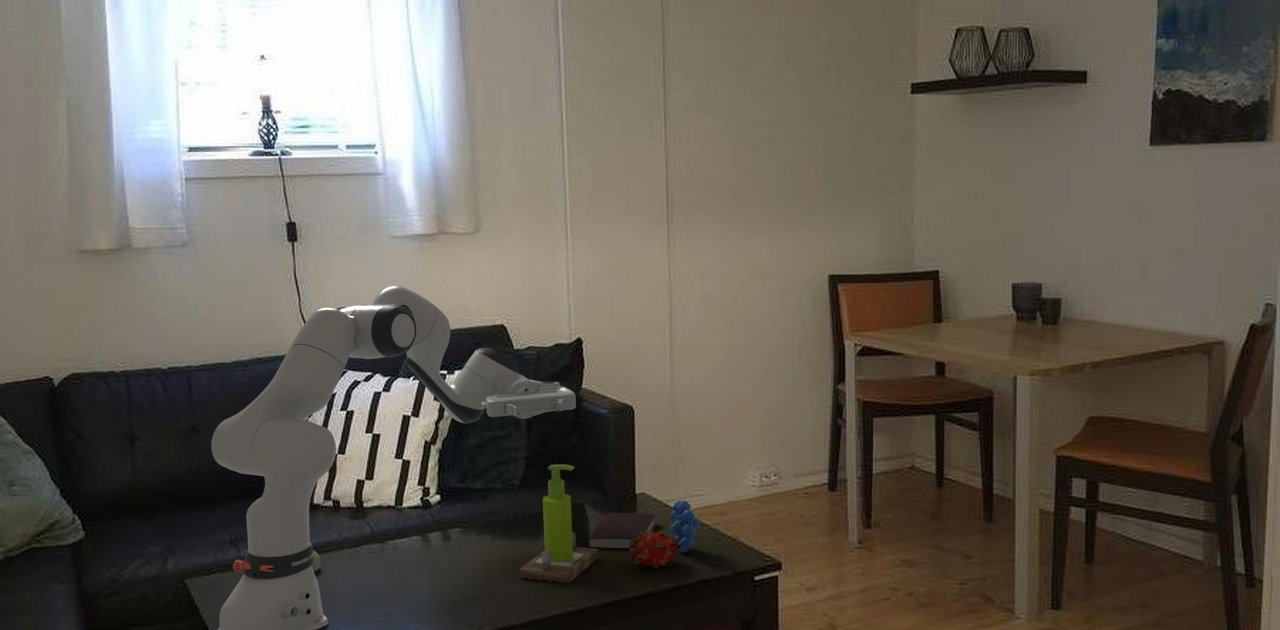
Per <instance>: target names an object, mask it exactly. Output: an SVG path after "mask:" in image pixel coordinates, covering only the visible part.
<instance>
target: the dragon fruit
mask: <svg viewBox="0 0 1280 630" xmlns="http://www.w3.org/2000/svg"><path fill="white" fill-rule="evenodd" d="M638 534H640V536H635V537H634V540H632V541H631V543H630V548H631V549H628V552H629V554H630V556H631V557H632V559H631V561H632V563H634V564H635V565H636V564H640V563H641V567H642V568H644V567H645V569H646V568H647V567H650V568H652V569H654V570H656V569H658V567H662V566H663V567H667V568H668V567H670V566H671V565H672V564H673V561H671V560H674V558H675V557H676V556H677V554H678V553H679V552H680V551H679V550H680V546H681V545H678V543H679V542H678V541H677V540H676V539H674V537H672V536H668V535H665V533H664V530H659V531H658V532H654V529H653V530H651V531H649V532H647V533H643V532H639V533H638Z"/></svg>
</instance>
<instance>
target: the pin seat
mask: <svg viewBox="0 0 1280 630" xmlns="http://www.w3.org/2000/svg"><path fill="white" fill-rule="evenodd" d="M576 543H577V542H576V532H573V531H572V547H573V558H572V559H570V560H568V561H564V562H551V552H550V551H545V549H544V550H542V551H541V552H540V553H538V555H536V556H535V557H534V558H533V557H532V559H531V560H530V561H528V562H526V563H525V564H524V565H523V566H521V567H520V568H519V578H520V577H521V578H520V579H523V578H528V579H527V580H532V579H538V580H537V581H542V580H549V581H548V582H552V581H556V582H555V583H561V582H562V583H563V584H570V583H571V582H573V581H574V578H575V579H576V578H577V577H578V576H579V575H581V574H582V573H583V572H584V571H585V570H586V569H588V568H589V566H591V565H592V564H593V563H594V562H595V561H597V560H598V559H599V556H598V555H599V552H598V551H599V548H589V547H579V546H578V547H577V546H576ZM590 564H591V565H590Z"/></svg>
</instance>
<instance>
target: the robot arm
mask: <svg viewBox="0 0 1280 630" xmlns="http://www.w3.org/2000/svg"><path fill="white" fill-rule="evenodd" d="M450 325H451V324H450V322H449V319H448V317H447V316H446V315H445V313H444V312H443V311H442V310H440V309H439V307H438V306H436V305H435V304H434V303H432V302H431V301H430V300H429V299H426V298H425V297H423V296H422V295H420V294H419V293H416V292H415V291H412V290H410V289H408V288H406V287H402V286H399V285H391V286H388V287H386V288H383V290H381V291H380V292H379V293H378V294H377V296H375V299H374V301H373V303H372V304H359V305H351V306H347V307H346V306H342V307H341V306H340V307H337V308H333V307H323V308H320V309H317V310H316V311H314V312H313V313H312V314H311V315H310V317H309V318H308V319H307V320H306V322H305V323H304V324H303V326H301V329H300V330H299V332H298V333H297V334H296V336H295V338H294V339H293V341H292V343H291V345H290V347H289V348H288V351H287V352H286V354H285V356H284V358H283V360H282V362H281V363H280V366H279V368H278V369H277V371H276V373H275V375H273V378H272V379H271V381H270V382H269V383H268V385H267V386H266V387H265V388H264V390H263V391H262V392H260V394H258V396H257V397H256V398H255V399H254V400H252V401H251V403H249V404H248V405H246V407H245V408H244V409H242V410H241V411H239V412H237V413H236V414H235V415H232V416H230V417H228V418H225V419H224V420H223V421H221V422H220V423H219V424H218V426H217V427H216V428H215V430H214V432H213V433H212V434H213V435H212V438H211V442H210V443H211V445H210V446H211V453H212V456H213V459H214V460H215V461H216V463H217V464H218V465H220V466H221V467H223V468H226V469H228V470H231V471H234V472H237V473H239V474H245V475H252V476H253V475H254V476H262V477H264V481H265V482H264V488H263V493H262V496H261V497H259V498H258V499H256V500H255V501H254V502H253V503H251V505H249V507H248V509H247V512H246V518H245V519H246V527H247V528H246V530H247V546H248V549H247V551H246V554H245V557H244V560H241V559H235V561H233V564H232V569H233V571H235V572H243V575H242V577H241V578H240V580H239V581H238V583H237V584H236V586H235V587H234V589H233V590H232V592H231V593H230V595H229V596H228V598H227V599H226V601H225V602H224V604H223V605H222V606H221V609H220V613H219V628H218V629H217V630H316V629H317V630H319V629H321V628H323V627H326V626H327V625H328V624H329V620H328V617H327V616H326V615H325V614H324V610H323V604H322V597H321V592H320V586H319V581H318V578H317V577H316V574H315V572H314V571H313V568H312V564H313V562H314V558H313V555H314V551H315V550H314V549H313V543H312V542H311V538H310V536H311V535H310V502H311V497H312V494H313V491H314V489H315V487H316V484H317V483H318V482H319V480H320V479H321V478H322V477H323V476H324V475H326V473H328V471H329V470H330V469H331V467H332V466H333V463H334V461H335V459H336V454H337V447H336V446H337V445H336V441H335V437H334V436H333V435H334V434H333V433H332V432H331V430H330V429H329V428H327V427H324V426H322V425H320V424H317V423H314V422H312V421H309V420H306V419H307V418H308V417H310V416H311V415H314V414H315V413H318V412H319V411H321V410H322V409H324V408H325V407H327V405H328V403H329V401H330V400H331V398H332V395H333V393H334V391H335V389H336V387H337V386H338V385H337V384H338V382H339V380H340V379H341V376H342V374H343V372H344V370H345V367H346V366H347V363H348V360H349V358H353V359H364V360H371V359H381V358H395V357H398V356H401V355H404V354H405V353H406V361H405V363H406V366H407V367H408V369H409V370H410V372H411V373H412V374H413V375H414V376H415V377H416V378H417V380H418V381H419V382H420V383H421V384H422V385H423V386H424V388H426V390H428V391H429V392H430V393H431V395H433V397H434V398H435V399H436V400H437V401H438V403H440V405H441V406H442V407H443V408H444V411H445V412H446V413H447V414H448V415H449V416H450V417H451V418H452V419H454V420H455V421H457V422H460V423H462V424H471V423H474V422H477V421H479V420H480V419H481V417H482V415H483V414H484V412H485V411H486V414H487V416H488V417H489V418H490V417H492V418H497V417H506V416H507V417H508V416H514V417H515V418H518V419H523V420H525V419H529V418H532V417H534V416H538V415H541V414H543V413H550V412H563V411H569V410H575V409H576V406H577V400H576V393H575V392H574V391H573V390H572V389H569V388H567V387H565V386H561V383H559V382H558V381H540V380H534V379H529V378H527V377H525V376H524V375H521V374H520V371H519V368H518V366H517V364H516V363H515V362H514V361H513V360H511V359H510V358H509V357H507V356H506V355H504V354H503V353H501V352H499V351H497V350H495V349H494V348H491V347H482V348H477V349H475V351H474V352H473V354H472V355H471V356H470V357H469V358H468V360H467V361H466V363H465V365H464V367H463V368H462V369H461V370H460V372H459V373H458V375H457V376H456V377H455V379H454V380H453V381H452V383H450V384H448V383H447V381H446V380H445V379H444V378H443V377H442V376H441V373H440V372H441V365H442V361H443V358H444V355H445V353H446V350H447V348H448V346H449V343H450V339H451V326H450ZM313 550H314V551H313Z"/></svg>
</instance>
